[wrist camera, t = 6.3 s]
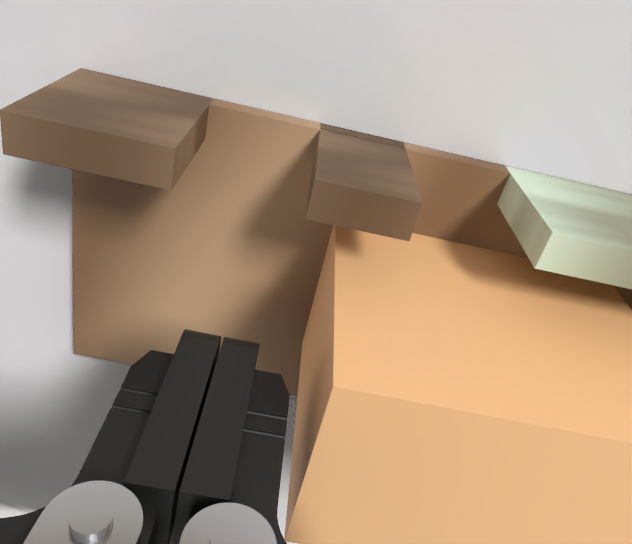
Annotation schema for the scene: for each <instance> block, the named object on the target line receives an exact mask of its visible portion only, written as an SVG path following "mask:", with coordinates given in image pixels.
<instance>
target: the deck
mask: <svg viewBox="0 0 632 544" xmlns="http://www.w3.org/2000/svg"><path fill="white" fill-rule="evenodd" d="M0 119H1V133H2V146H3V154H5V155H10V156H14V157H19V158H23V159H28V160H33V161H37V162H42V163H47V164H51V165H56V166H61V167H65V168H70V169H73V309H74V354H78V355H84V356H89V357H94V358H100V359H105V360H110V361H115V362H121V363H126V364H131V365H133V364H134V363H135V362H137V361H138V360H139V359H140V358H142V357H143V356H144V355H145V354H147V353H148V352H149V351H150V350H155V351H160V352H165V353H171V354H174V353H175V351H176V348H177V345H178V343H179V340H180V338H181V335H182V333H183V331H184V330H185V329H187V330H192V331H198V332H203V333H208V334H213V335H218V336H221V345H222V341H223V338H224V337H229V338H234V339H239V340H245V341H250V342H255V343H260V346H259V352H258V357H257V362H256V367H255V370H261V371H266V372H271V373H276V374H281V375H282V378H283V380H284V383H285V385H286V388H287V390H288V393H289V394H290V395H295V396H298V385H299V374H300V363H301V352H302V342H303V338H304V334H305V331H306V327H307V323H308V319H309V315H310V312H311V308H312V304H313V300H314V296H315V293H316V289H317V285H318V281H319V277H320V274H321V270H322V266H323V262H324V258H325V255H326V251H327V247H328V243H329V239H330V236H331V232H332V228H333V225H335V226H340V227H344V228H349V229H354V230H358V231H363V232H368V233H372V234H377V235H381V236H386V237H391V238H395V239H400V240H405V241H410V238H411V236H412V233H415V234H420V235H424V236H429V237H433V238H438V239H443V240H447V241H452V242H457V243H461V244H466V245H470V246H475V247H480V248H484V249H489V250H494V251H498V252H503V253H507V254H512V255H517V256H521V257H526V258H529V260H530V261H531V263H532V265H533V266H534V268H535V269H540V270H544V271H549V272H554V273H558V274H563V275H567V276H572V277H577V278H581V279H586V280H591V281H595V282H600V283H605V284H609V285H613V286H614V288H615V289H616V290H617V291H618V293H619V294H620V295H621V297H622V298H623V299H624V300H625V302H626V303H627V304H628V306H629V307H630V308H631V309H632V195H631V194H627V193H622V192H618V191H613V190H609V189H605V188H600V187H596V186H592V185H587V184H583V183H579V182H574V181H570V180H566V179H561V178H557V177H553V176H548V175H544V174H539V173H535V172H531V171H526V170H522V169H518V168H513V167H509V166H505V165H500V164H496V163H492V162H487V161H483V160H479V159H474V158H470V157H465V156H461V155H457V154H452V153H448V152H444V151H439V150H435V149H431V148H426V147H422V146H418V145H413V144H409V143H404V142H400V141H396V140H391V139H387V138H383V137H378V136H374V135H370V134H365V133H361V132H357V131H352V130H348V129H344V128H339V127H335V126H330V125H326V124H322V123H317V122H313V121H309V120H304V119H300V118H296V117H291V116H287V115H283V114H278V113H274V112H270V111H265V110H261V109H256V108H252V107H248V106H243V105H239V104H235V103H230V102H226V101H222V100H217V99H213V98H209V97H204V96H200V95H196V94H191V93H187V92H182V91H178V90H174V89H169V88H165V87H161V86H156V85H152V84H148V83H143V82H139V81H135V80H130V79H126V78H122V77H117V76H113V75H108V74H104V73H100V72H95V71H91V70H87V69H82V68H80V69H78V70H77V71H75V72H73V73H71V74H69V75H67V76H65V77H63V78H61V79H59V80H57V81H55V82H53V83H51V84H49V85H47V86H45V87H43V88H42V89H40V90H38V91H36V92H34V93H32V94H30V95H28V96H26V97H24V98H22V99H20V100H18V101H16V102H14V103H12V104H10V105H9V106H7V107H5V108H3V109H1V110H0ZM221 345H220V348H221ZM219 352H220V351H219Z"/></svg>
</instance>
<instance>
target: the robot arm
mask: <svg viewBox="0 0 632 544" xmlns="http://www.w3.org/2000/svg"><path fill="white" fill-rule="evenodd" d="M220 345H221V336H218V335H213V334H208V333H203V332H198V331H192V330H187V329H185V330H184V331H183V333H182V335H181V338H180V340H179V343H178V345H177V348H176V351H175V353H174V354H171V353H165V352H160V351H155V350H150V351H149V352H148V353H147V354H145V355H144V356H143V357H142V358H140V359H139V360H138V361H137V362H135V363H134V364H133V365H132V366H131V368H130V370H129V372H128V374H127V376H126V378H125V380H124V382H123V384H122V386H121V390H120V391H119V393H118V395H117V397H116V399H115V401H114V403H113V406H112V409H110V411H109V413H108V415H107V417H106V419H105V421H104V424H103V426H102V428H101V430H100V432H99V434H98V436H97V438H96V440H95V442H94V444H93V446H92V448H91V450H90V452H89V455H88V457H87V459H86V461H85V463H84V465H83V467H82V469H81V471H80V473H79V475H78V477H77V479H76V480H75V482H74V483H73V485H72V486H71V487H69V488H68V489H66V490H64V491H62V492H61V493H60V494H58V495H57V496H56V497H54V498H53V499H52V500H51V501H50V502H49V503H48V505H47V506H46V507H44V508H41V509H39V510H37V511H34V512H31V513H28V514H25V515H20V516H15V517H8V518H0V544H287V543H286V542H285V540H284V538H283V536H282V534H281V532H280V529H279V525H278V519H277V507H278V498H279V488H280V479H281V470H282V461H283V452H284V442H285V440H284V439H285V433H286V424H287V415H288V406H289V396H290V395H289V393H288V390H287V388H286V385H285V383H284V380H283V378H282V375H281V374H276V373H271V372H266V371H261V370H255V367H256V362H257V357H258V352H259V346H260V343H255V342H250V341H245V340H239V339H234V338H229V337H224V338H223V341H222V345H221V348H220ZM219 351H220V352H219Z"/></svg>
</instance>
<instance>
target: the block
mask: <svg viewBox="0 0 632 544" xmlns="http://www.w3.org/2000/svg"><path fill="white" fill-rule="evenodd" d="M284 540H285V541H287V542H293V543H299V544H632V309H631V308H630V307H629V306H628V304H627V303H626V302H625V300H624V299H623V298H622V297H621V295H620V294H619V293H618V291H617V290H616V289H615V288H614V286H613V285H609V284H605V283H600V282H595V281H591V280H586V279H581V278H577V277H572V276H567V275H563V274H558V273H554V272H549V271H544V270H540V269H535V268H534V266H533V265H532V263H531V261H530V260H529V258H526V257H521V256H517V255H512V254H507V253H503V252H498V251H494V250H489V249H484V248H480V247H475V246H470V245H466V244H461V243H457V242H452V241H447V240H443V239H438V238H433V237H429V236H424V235H420V234H415V233H412V236H411V238H410V241H405V240H400V239H395V238H391V237H386V236H381V235H377V234H372V233H368V232H363V231H358V230H354V229H349V228H344V227H340V226H335V225H333V228H332V232H331V236H330V239H329V243H328V247H327V251H326V255H325V258H324V262H323V266H322V270H321V274H320V277H319V281H318V285H317V289H316V293H315V296H314V300H313V304H312V308H311V312H310V315H309V319H308V323H307V327H306V331H305V334H304V338H303V342H302V352H301V363H300V374H299V385H298V396H297V407H296V418H295V429H294V440H293V451H292V462H291V473H290V484H289V495H288V506H287V517H286V528H285V539H284Z"/></svg>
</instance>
